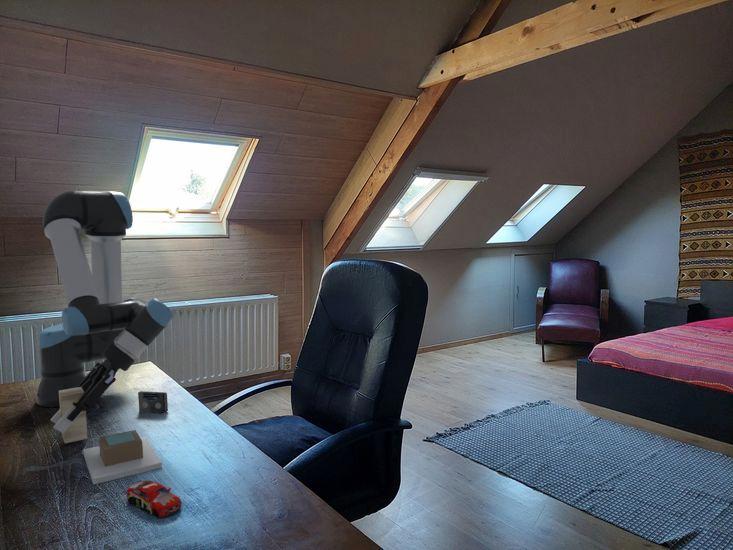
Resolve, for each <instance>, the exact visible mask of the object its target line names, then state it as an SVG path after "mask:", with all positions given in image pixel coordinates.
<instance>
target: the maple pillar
mask: <svg viewBox="0 0 733 550" xmlns="http://www.w3.org/2000/svg"><path fill="white" fill-rule="evenodd" d="M83 394H84V391H83V389H82V388H81V387H77V388H71V389H65V390H60V391H59V402H60V406H59V410H60V415H61V418H62V417H63V415H64V414H65V413H66V412H67V411H68V410H69V409H70V408H71V407H72V405H73V402H75V403H77V402H78V401H79V399H80V398H81V397H82V395H83ZM87 427H88V425H87V411H83V412H82V413H81V414H80V415H79V416H78V417H77V419H76V420H75V421H74V422H73V423H72V424H71V425H70V426H69V428H68V429H67V430H66V431H65V432H64V433H61V437H62V438H61V439H63V443H64V444H68V443H75V442H78V441H81V440H83V441H84V440H87V439H88V428H87Z"/></svg>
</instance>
